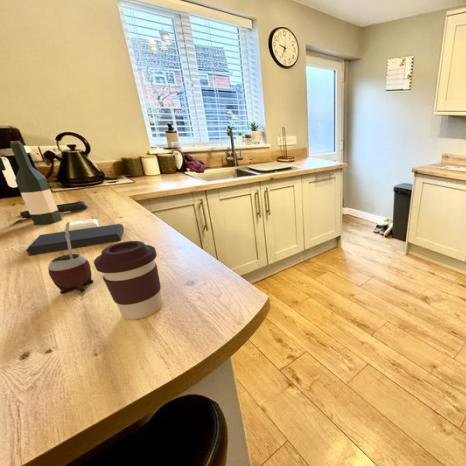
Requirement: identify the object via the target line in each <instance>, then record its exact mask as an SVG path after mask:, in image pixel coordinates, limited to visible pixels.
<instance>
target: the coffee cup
mask: <svg viewBox="0 0 466 466" xmlns="http://www.w3.org/2000/svg"><path fill="white" fill-rule="evenodd" d="M157 255H158V254H157V249H156V247H154V246H153V245H150V244H146V243H145V242H143V241H140V240H127V241H120V242H118V243H114V244H110V245H109V246H107V247H105V248H104V249H103V250H102V251H101V254H100V255H98V256H96V257H95V259H94V260H93V265H94V267H95V270H96V271H97V272H99V273H102V275H103V276H102V279H103V281H104V283H105V285H106V287H107V290H108V291H109V294H110V295H111V298H112V300H113V302H114V303H115V304H116V305H117V308H118V309H119V312H120V314H121V316H122V317H123V318H124V319H126V320H131V321H133V320H141V319H145V318H148V317H150V316H152V315H153V314H156V313H157V312H158V311H159V310H160V309H161V308H162V306H163V298H162V293H161V287H162V285H161V280H160V276H159V271H158V265H157V263H156V261H155V259H156V258H157Z"/></svg>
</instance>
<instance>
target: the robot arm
mask: <svg viewBox="0 0 466 466" xmlns="http://www.w3.org/2000/svg"><path fill="white" fill-rule="evenodd" d="M0 171H1V172H2V171H3V172H4V171H7V169H6V166H5V163H4V160H3V158H2V154H0Z"/></svg>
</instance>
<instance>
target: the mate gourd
mask: <svg viewBox="0 0 466 466" xmlns="http://www.w3.org/2000/svg"><path fill="white" fill-rule="evenodd" d="M69 222H70V221H67V222H66V223H67V224H66V223H65V224H66V234H65V237H66V239H67V244H68V249H67V250H68V254H63V255H60V256H57V257H55V258H53V259H52V260H50V262H49V264H48V267H47V270H48V275H49V277H50V279H51V281H52V283H53V284H54V285H55V286H56V288H58V289H59V293H60V295H64V294H66V293H69V292H72V291H74V290H78V291H79V292H81V293H82V292H84V291H86V288H85V286H88V285H90V284H93V283H94V279H92V269H91V268H92V267H91V263H90V261H89V260H88V259H87V258H86V257H85V256H84V255H82V254H80V253H73V249H72V248H71V243H70V234H69Z"/></svg>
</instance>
